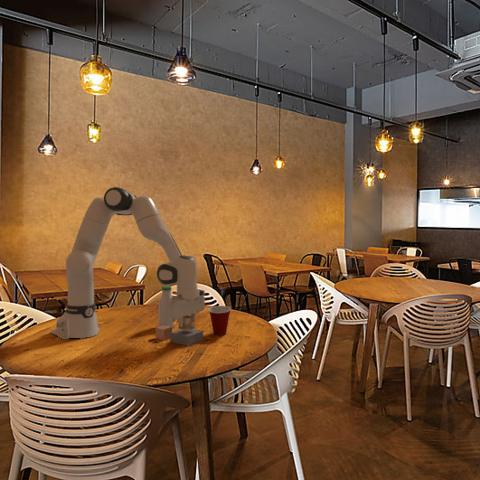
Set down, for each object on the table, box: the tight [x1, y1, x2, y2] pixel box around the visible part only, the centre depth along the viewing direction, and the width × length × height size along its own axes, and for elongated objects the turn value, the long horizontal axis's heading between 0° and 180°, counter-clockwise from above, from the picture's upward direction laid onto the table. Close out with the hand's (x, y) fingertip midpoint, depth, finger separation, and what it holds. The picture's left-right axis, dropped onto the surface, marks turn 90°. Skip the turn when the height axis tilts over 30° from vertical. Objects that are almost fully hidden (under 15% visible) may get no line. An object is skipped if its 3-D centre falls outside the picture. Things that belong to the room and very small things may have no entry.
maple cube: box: [178, 315, 196, 331], centre depth 171 cm, size 5×5×5 cm
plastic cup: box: [207, 305, 232, 336], centre depth 183 cm, size 11×11×12 cm
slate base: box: [169, 328, 204, 347], centre depth 172 cm, size 10×10×4 cm
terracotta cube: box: [155, 325, 173, 341], centre depth 175 cm, size 5×5×5 cm
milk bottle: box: [158, 285, 175, 329], centre depth 193 cm, size 8×8×20 cm
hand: (186, 324), depth 172 cm, fingers closed on maple cube, 5 cm apart
